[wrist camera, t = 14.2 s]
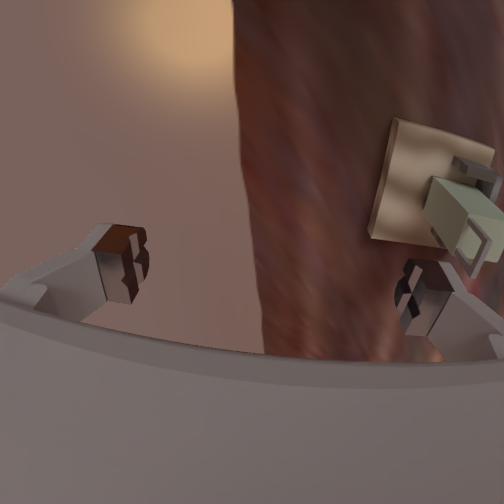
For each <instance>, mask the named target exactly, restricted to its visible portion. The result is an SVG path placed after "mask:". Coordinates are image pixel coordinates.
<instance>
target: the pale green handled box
mask: <svg viewBox="0 0 504 504" xmlns="http://www.w3.org/2000/svg"><path fill="white" fill-rule="evenodd" d="M429 182H430V183H431V188H430V191H429V194H428V198H427V201H423V205H422V209H423V214H424V215H425V217H426V218H427V220H428V221H429V222H430V224H431V225H432V227H433V228H434V230H435V231H436V233H437V234H438V235H439V237H440V238H441V240H442V241H443V243H444V244H445V246H446V247H447V249H448V250H449V252H450V254H451V255H452V256H457V258H458V260H459V261H460V263H461V264H462V266H463V267H464V269H465V271H466V272H467V274H468V276H469V278H472V279H475V278H476V276H477V274H478V272H479V270H480V268H481V266H482V264H483V262H484V261H491V262H498V260H499V258H500V256H501V254H502V251H503V249H504V213H503V212H502V211H501V210H500V209H499V208H498V207H497V206H496V205H495V204H493V203H492V202H491V201H490V200H489V199H488V198H487V197H486V196H485V195H484V194H483V193H482V192H481V191H479V190H478V189H477V188H476V187H472V186H470V185H468V184H465V183H462V184H461V183H457V182H453V181H449V180H445V179H441V178H439V177H437V176H433V175H432V176H431V178H430V181H429ZM467 258H470V259H474V260H473V263H472V265H471V263H470V262H469V260H468V259H467Z"/></svg>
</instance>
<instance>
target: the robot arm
mask: <svg viewBox="0 0 504 504" xmlns="http://www.w3.org/2000/svg"><path fill="white" fill-rule="evenodd" d="M146 241H147V237H146V231H145V229H144V228H143V227H134V226H127V225H118V224H110V223H99V224H98V225H97V226H96V227H95V228H94V230H93V231H92V232H91V233H90V234H89V235H88V236H87V237H86V238H85V240H84V241H83V242H82V243H81V244H80V245H79V246H78V247H77V249H70V250H68V251H66V252H63V253H61V254H59V255H57V256H55V257H52V258H50V259H48V260H46V261H44V262H42V263H39V264H37V265H35V266H33V267H31V268H29V269H27V270H25V271H23V272H21V273H19V274H17V275H15V276H13V277H12V278H11V279H10V280H9V281H8V283H7V284H6V285H5V286H4V287H3V288H2V290H1V291H0V504H504V319H503V318H502V317H500V316H499V315H498V314H497V313H496V312H494V311H493V310H492V309H491V308H489V307H488V306H487V305H486V304H484V303H483V302H482V301H480V300H479V299H478V298H477V297H475V296H474V295H473V294H469V293H468V292H467V290H466V288H465V287H464V285H463V283H462V282H461V280H460V278H459V276H458V275H457V273H456V271H455V270H454V268H453V266H452V265H451V264H450V263H448V262H440V261H428V260H418V259H408V260H407V262H406V263H405V265H404V268H403V271H404V274H405V276H403V277H402V278H401V279H400V280H398V283H397V285H396V288H395V294H394V302H395V306H396V309H397V310H398V311H399V312H400V313H401V314H402V315H401V317H400V322H401V325H402V328H403V332H404V335H416V336H427V338H428V339H429V340H430V342H431V343H432V344H433V345H434V346H435V347H436V349H437V350H438V351H439V352H440V353H441V355H442V356H443V357H444V358H445V359H446V361H447V362H363V361H342V360H325V359H311V358H298V357H287V356H276V355H266V354H257V353H248V352H240V351H233V350H224V349H217V348H210V347H204V346H198V345H191V344H184V343H179V342H173V341H168V340H162V339H156V338H152V337H146V336H141V335H136V334H131V333H126V332H121V331H117V330H113V329H108V328H104V327H99V326H95V325H91V324H87V323H82V322H80V321H82V320H83V319H84V318H86V317H87V316H89V315H90V314H91V313H92V312H94V311H95V310H97V309H98V308H99V307H101V306H102V305H104V304H105V303H106V302H107V301H112V302H118V303H124V304H132V302H133V300H134V299H135V297H136V295H137V293H138V291H139V288H138V284H139V283H141V282H143V281H144V280H145V278H146V276H147V273H148V269H149V253H148V251H147V250H146V249H145V247H144V244H145V243H146Z"/></svg>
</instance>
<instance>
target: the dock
mask: <svg viewBox="0 0 504 504" xmlns="http://www.w3.org/2000/svg"><path fill="white" fill-rule="evenodd" d="M494 152H495V150H494V149H492V148H491V147H489V146H487V145H486V144H483V143H480V142H477V141H474V140H471V139H468V138H465V137H462V136H459V135H456V134H453V133H450V132H446V131H443V130H440V129H436V128H433V127H429V126H426V125H422V124H418V123H415V122H411V121H407V120H403V119H399V118H394V117H393V120H392V125H391V130H390V135H389V140H388V145H387V150H386V154H385V159H384V164H383V168H382V172H381V177H380V181H379V185H378V189H377V193H376V197H375V201H374V205H373V209H372V213H371V216H370V220H369V224H368V227H367V230H368V232H369V235H370V237H371V238H372V239H380V240H387V241H394V242H402V243H409V244H416V245H423V246H430V247H437V248H443V249H447V247H446V246H445V244H444V243H443V241H442V240H441V238H440V237H439V235H438V234H437V233H436V231H435V230H434V228H433V227H432V225H431V224H430V222H429V221H428V220H427V218H426V217H425V215H424V214H423V209H422V205H423V201H427V198H428V194H429V191H430V188H431V183H430V182H429V181H430V178H431V176H432V175H433V176H437V177H439V178H441V179H445V180H449V181H453V182H457V183H461V184H462V183H465V184H468V185H470V186H472V187H476V188H477V189H478V190H479V191H481V192H482V193H483V194H484V195H485V196H486V197H487V198H488V199H489V200H490V201H491V202H492V203H493V204H495V202H496V199H497V196H498V193H499V190H500V187H501V184H502V181H503V178H504V177H503V176H501V175H500V174H499V173H497V172H496V171H495V170H493V169H492V168H491V167H490V166H491V163H492V159H493V156H494Z"/></svg>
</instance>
